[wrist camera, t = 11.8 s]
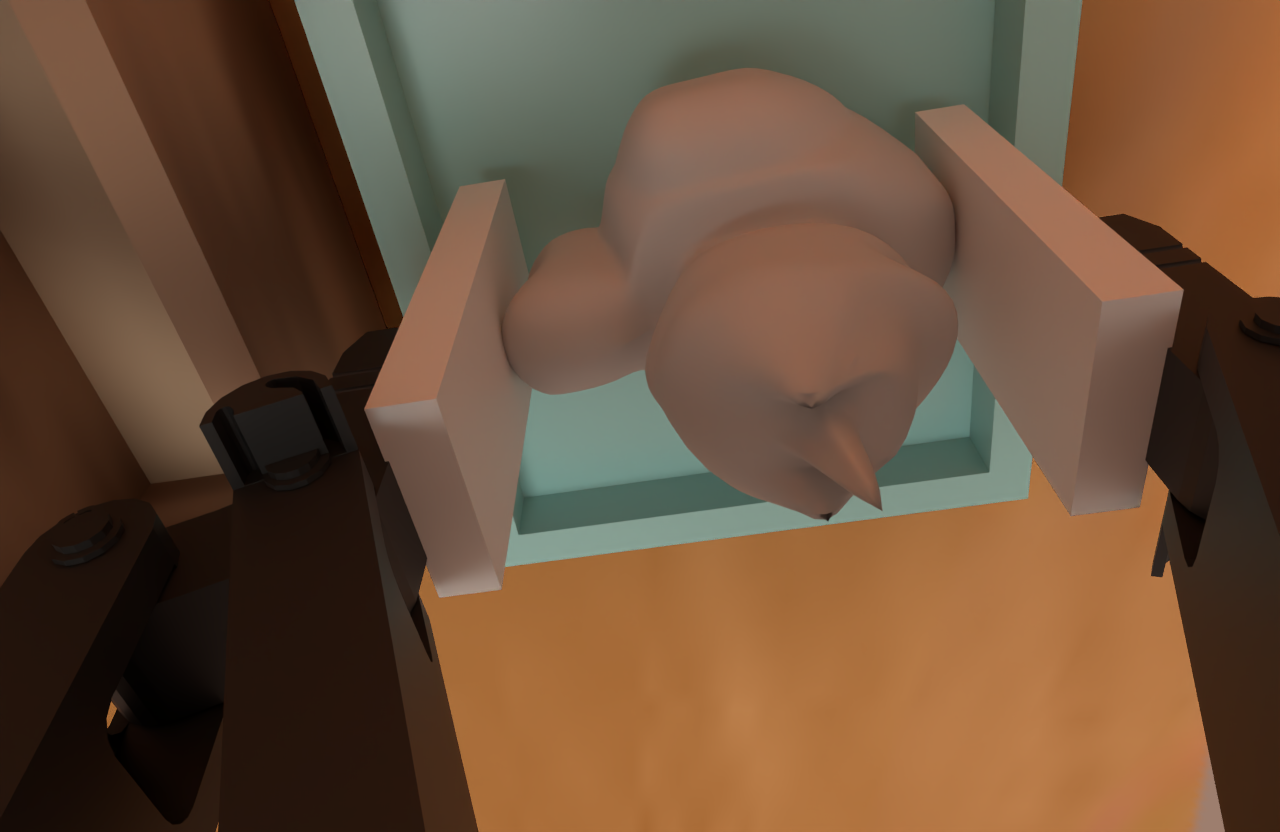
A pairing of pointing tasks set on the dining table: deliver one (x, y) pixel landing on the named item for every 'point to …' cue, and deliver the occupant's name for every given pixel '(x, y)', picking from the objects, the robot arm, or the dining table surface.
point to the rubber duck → (755, 286)
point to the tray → (575, 185)
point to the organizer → (153, 249)
